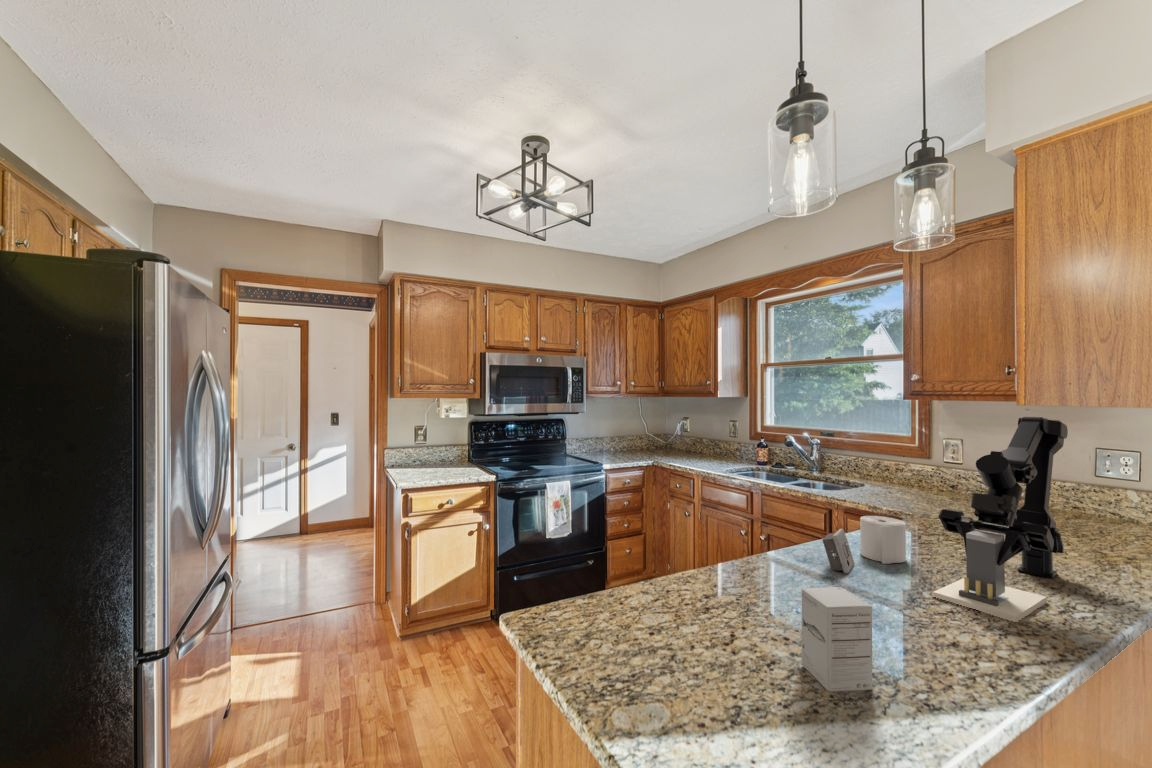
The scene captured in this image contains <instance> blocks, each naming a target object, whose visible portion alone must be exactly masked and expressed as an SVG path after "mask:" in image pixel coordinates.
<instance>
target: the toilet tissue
mask: <svg viewBox="0 0 1152 768" xmlns="http://www.w3.org/2000/svg"><path fill="white" fill-rule="evenodd" d="M859 521H860V522H859V523H860V525H859V526H860V527H859V529H860V531H859V534H860V537H859V539H860V541H859V542H860V543H859V546H860V554H861V556H862V557H865V558H867V559H870V560H872V561H876V562H877V561H878V562H881V564H900V563H905V562H906V561H907V533H906V529H907V526H906V525H907V524H906V522H905V521H903V520H901V519H897V518H894V517H889V516H881V515H863V516H860V519H859Z"/></svg>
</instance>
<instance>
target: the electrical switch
mask: <svg viewBox="0 0 1152 768" xmlns="http://www.w3.org/2000/svg"><path fill="white" fill-rule="evenodd" d="M822 543H823V547H824V550H825V552H826V556H827V560H828V563H829V566H830V569H831V571H834V572H835V571H842V572H843V574H844V575H845V574H849V573H850V572H851V570H852V568H854V566H855V561H854V557H853V554H852V550H851V547H850V545H849V541H848V538H847V535H846V533H845V530H844V529H843V528H839V529H838V530H837V531H836V532H829V533H827V534H826V536H825V537H823V538H822Z"/></svg>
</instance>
